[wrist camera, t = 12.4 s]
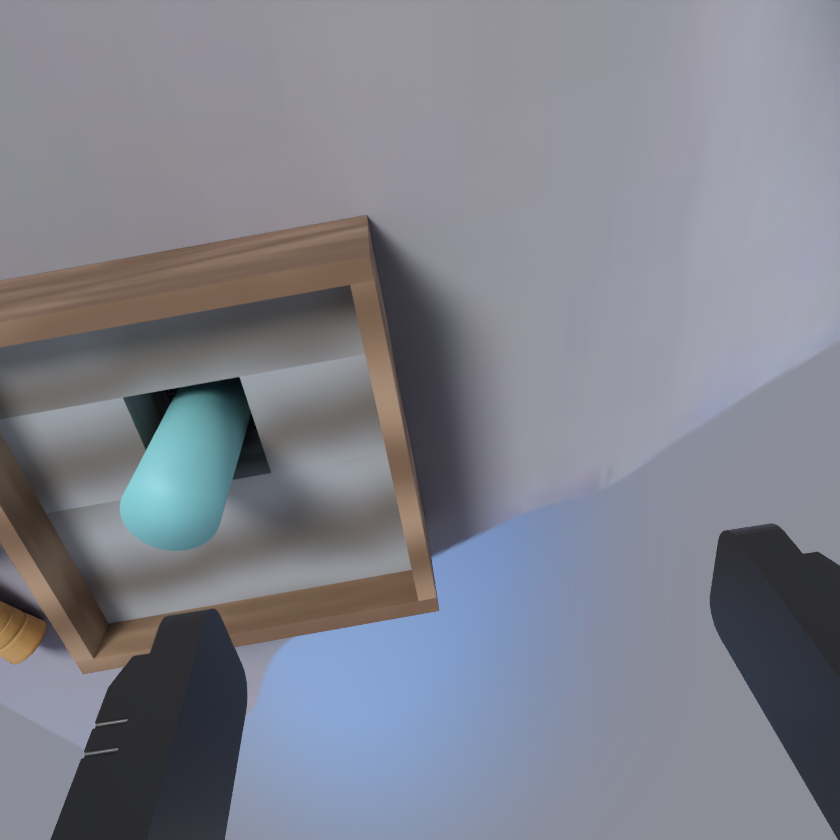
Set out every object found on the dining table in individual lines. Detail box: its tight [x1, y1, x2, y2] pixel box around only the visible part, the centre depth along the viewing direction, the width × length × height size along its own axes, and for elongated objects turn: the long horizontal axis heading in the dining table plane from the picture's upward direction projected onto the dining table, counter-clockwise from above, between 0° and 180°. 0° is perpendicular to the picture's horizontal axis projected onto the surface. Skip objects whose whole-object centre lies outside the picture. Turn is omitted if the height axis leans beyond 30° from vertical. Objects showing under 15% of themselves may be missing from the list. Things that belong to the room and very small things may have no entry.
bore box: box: [0, 215, 439, 674], centre depth 34 cm, size 20×20×8 cm
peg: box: [120, 377, 251, 551], centre depth 31 cm, size 4×4×11 cm
